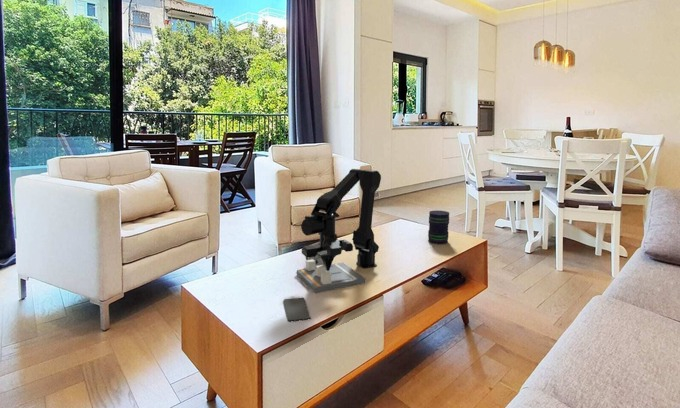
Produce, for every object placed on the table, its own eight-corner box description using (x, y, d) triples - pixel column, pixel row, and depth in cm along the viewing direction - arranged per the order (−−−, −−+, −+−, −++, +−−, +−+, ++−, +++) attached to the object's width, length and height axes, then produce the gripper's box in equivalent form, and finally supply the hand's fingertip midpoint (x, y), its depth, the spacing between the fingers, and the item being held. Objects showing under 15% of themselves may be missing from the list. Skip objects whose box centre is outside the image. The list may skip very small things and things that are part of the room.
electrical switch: (312, 269, 160) (310, 246, 159) (303, 267, 164) (301, 245, 162) (327, 262, 168) (326, 241, 166) (318, 261, 171) (317, 240, 170)
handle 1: (312, 267, 155) (312, 259, 155) (315, 269, 153) (315, 261, 152) (305, 268, 154) (305, 260, 153) (308, 270, 152) (307, 262, 151)
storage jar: (426, 243, 195) (427, 213, 192) (428, 238, 204) (430, 209, 201) (447, 245, 192) (449, 215, 189) (448, 239, 201) (450, 211, 198)
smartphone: (288, 320, 117) (283, 299, 131) (288, 323, 117) (283, 301, 131) (311, 318, 118) (304, 297, 132) (311, 320, 118) (304, 299, 133)
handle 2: (328, 280, 142) (328, 271, 141) (331, 283, 140) (331, 273, 139) (320, 282, 141) (320, 272, 140) (323, 284, 139) (323, 275, 138)
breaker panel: (342, 267, 162) (342, 262, 162) (365, 283, 145) (365, 277, 145) (296, 274, 154) (296, 269, 153) (315, 293, 137) (315, 287, 136)
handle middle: (323, 273, 149) (323, 264, 148) (325, 275, 147) (325, 266, 146) (315, 274, 148) (315, 265, 147) (318, 276, 146) (318, 268, 145)
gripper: (312, 238, 134) (312, 282, 137) (360, 232, 142) (359, 273, 145) (300, 231, 144) (301, 271, 147) (346, 225, 152) (346, 264, 155)
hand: (327, 270), depth 148 cm, fingers closed
